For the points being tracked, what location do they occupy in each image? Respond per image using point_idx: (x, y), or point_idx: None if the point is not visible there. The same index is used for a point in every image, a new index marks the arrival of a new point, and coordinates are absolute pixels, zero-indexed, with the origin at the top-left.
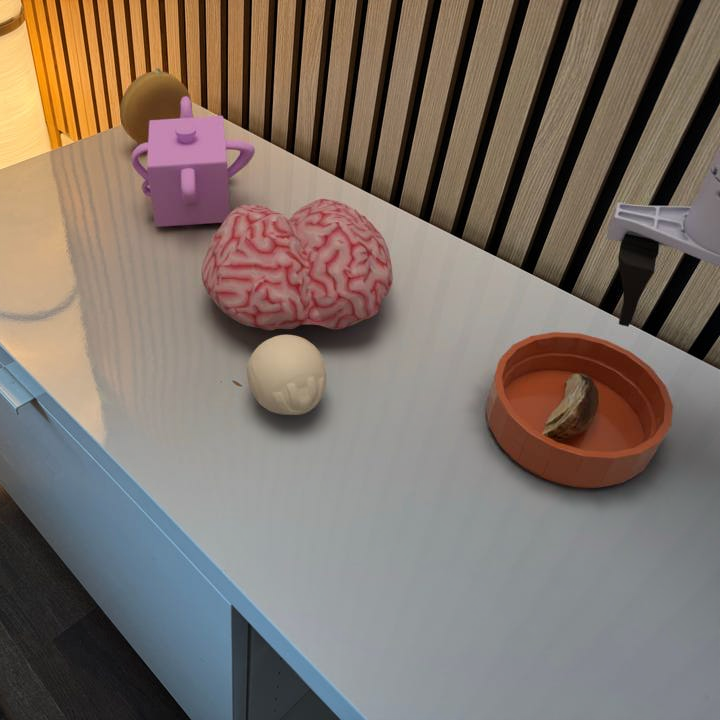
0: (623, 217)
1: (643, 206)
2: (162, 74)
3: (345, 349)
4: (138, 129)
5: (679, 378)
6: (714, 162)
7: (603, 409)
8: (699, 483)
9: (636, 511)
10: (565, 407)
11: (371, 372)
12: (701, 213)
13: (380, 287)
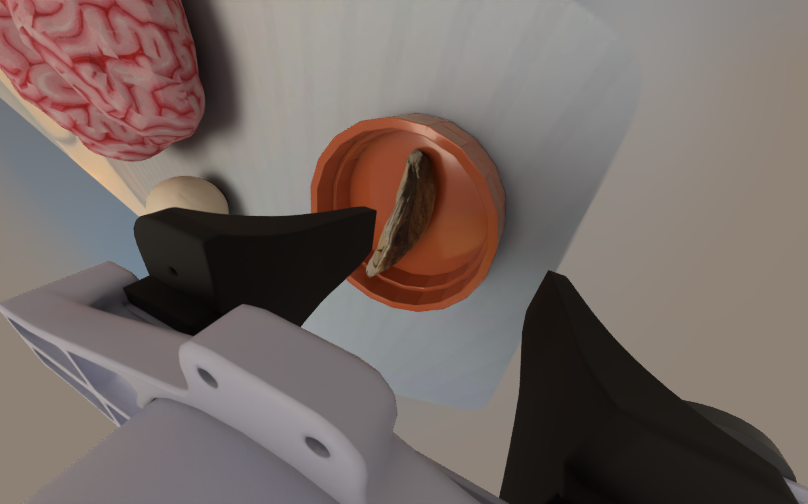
0: (54, 371)
1: (40, 337)
2: None
3: (225, 130)
4: None
5: (587, 96)
6: None
7: (452, 190)
8: (540, 274)
9: (467, 299)
10: (383, 241)
11: (253, 159)
12: None
13: (166, 92)
